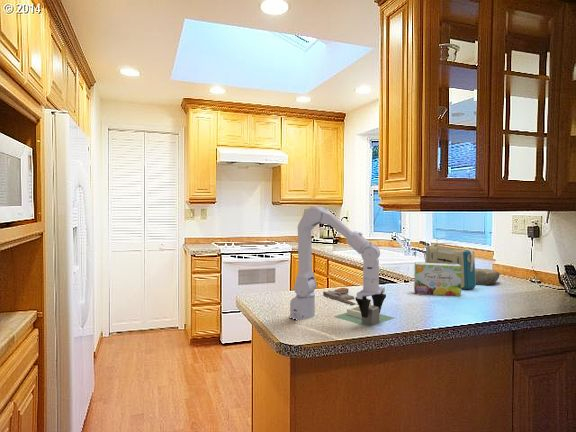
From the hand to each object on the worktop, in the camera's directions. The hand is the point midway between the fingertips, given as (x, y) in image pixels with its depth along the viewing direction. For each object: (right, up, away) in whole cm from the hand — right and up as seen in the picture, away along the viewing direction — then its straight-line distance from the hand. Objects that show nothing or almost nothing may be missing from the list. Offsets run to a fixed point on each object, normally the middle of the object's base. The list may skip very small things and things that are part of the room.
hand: (370, 315), depth 148 cm
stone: (+78, -1, +75) cm, 109 cm away
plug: (0, -3, 0) cm, 3 cm away
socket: (-1, -2, +10) cm, 11 cm away
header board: (-1, -4, +7) cm, 8 cm away
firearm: (-2, -3, +40) cm, 40 cm away
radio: (+57, -1, +72) cm, 92 cm away
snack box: (+43, -2, +50) cm, 66 cm away
